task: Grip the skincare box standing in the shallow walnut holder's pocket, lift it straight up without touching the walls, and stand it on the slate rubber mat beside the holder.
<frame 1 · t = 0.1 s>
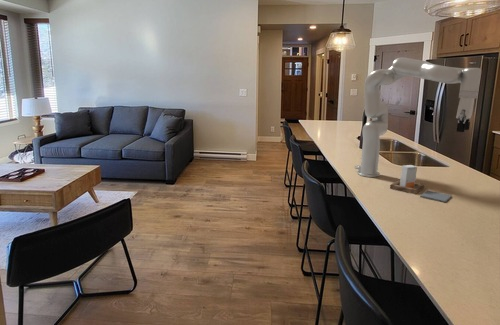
hand: (462, 130, 171), 31 cm above the kitchen island, tool pointing down, fingers open, 9 cm apart
pocket holder: (406, 188, 183), on the kitchen island
slate mat: (435, 197, 170), on the kitchen island
skincare box: (406, 188, 183), resting in pocket holder
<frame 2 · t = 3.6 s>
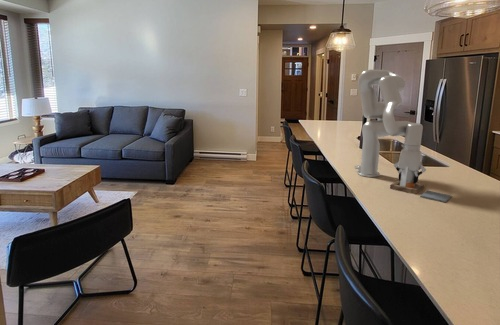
hand: (407, 181, 182), 4 cm above the kitchen island, tool pointing down, fingers closed on skincare box, 6 cm apart
skincare box: (406, 188, 183), resting in pocket holder, touching gripper
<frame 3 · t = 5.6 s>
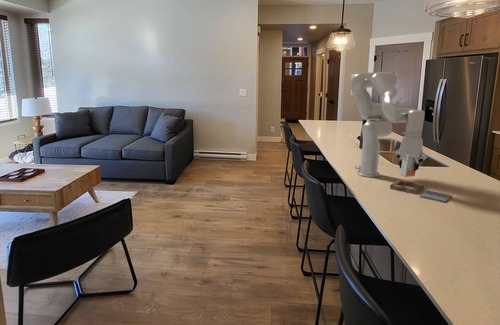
hand: (408, 168, 181), 10 cm above the kitchen island, tool pointing down, fingers closed on skincare box, 6 cm apart
skincare box: (407, 176, 182), point 6 cm above the kitchen island, touching gripper
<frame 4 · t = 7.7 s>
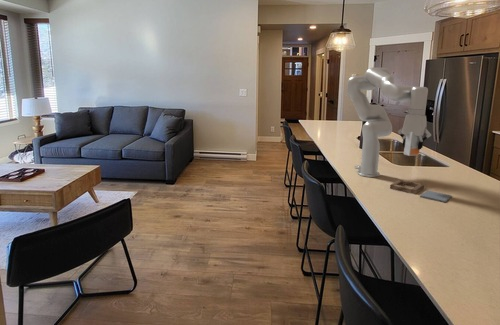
hand: (412, 147, 178), 22 cm above the kitchen island, tool pointing down, fingers closed on skincare box, 6 cm apart
skincare box: (411, 155, 179), point 18 cm above the kitchen island, touching gripper
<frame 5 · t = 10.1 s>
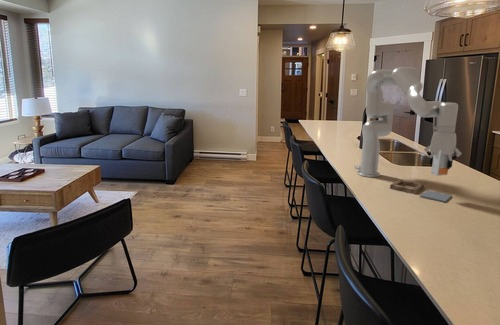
hand: (440, 167, 167), 15 cm above the kitchen island, tool pointing down, fingers closed on skincare box, 6 cm apart
skincare box: (439, 174, 168), point 11 cm above the kitchen island, touching gripper
when the fingers open (6 cm above the kitchen island, at t = 12.2 s): skincare box drops 1 cm, resting on slate mat.
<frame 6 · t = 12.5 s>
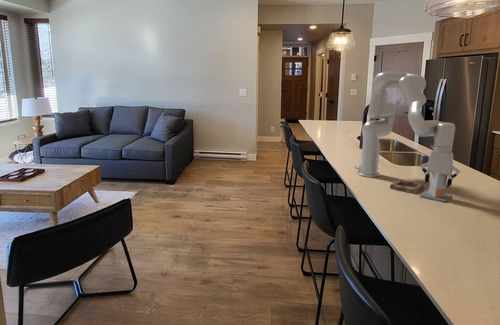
hand: (437, 184, 169), 6 cm above the kitchen island, tool pointing down, fingers open, 9 cm apart
skincare box: (436, 195, 170), point 1 cm above the kitchen island, touching slate mat
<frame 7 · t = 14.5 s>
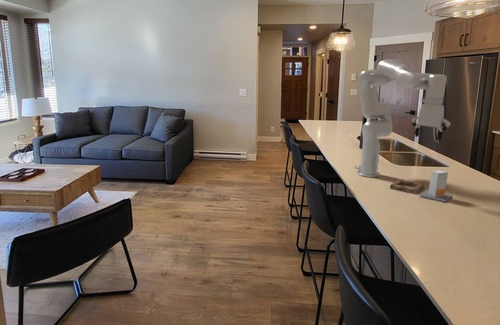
hand: (427, 138, 168), 28 cm above the kitchen island, tool pointing down, fingers open, 9 cm apart
nothing on the kitchen island moved.
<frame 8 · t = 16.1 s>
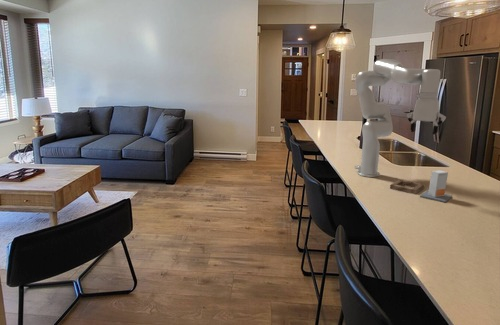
hand: (423, 132, 168), 30 cm above the kitchen island, tool pointing down, fingers open, 9 cm apart
nothing on the kitchen island moved.
at the end: skincare box inside the target area on the slate mat (0.1 cm from its centre), point 0.6 cm above the slate mat's base; skincare box tilted 0°; the gripper is holding nothing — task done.
